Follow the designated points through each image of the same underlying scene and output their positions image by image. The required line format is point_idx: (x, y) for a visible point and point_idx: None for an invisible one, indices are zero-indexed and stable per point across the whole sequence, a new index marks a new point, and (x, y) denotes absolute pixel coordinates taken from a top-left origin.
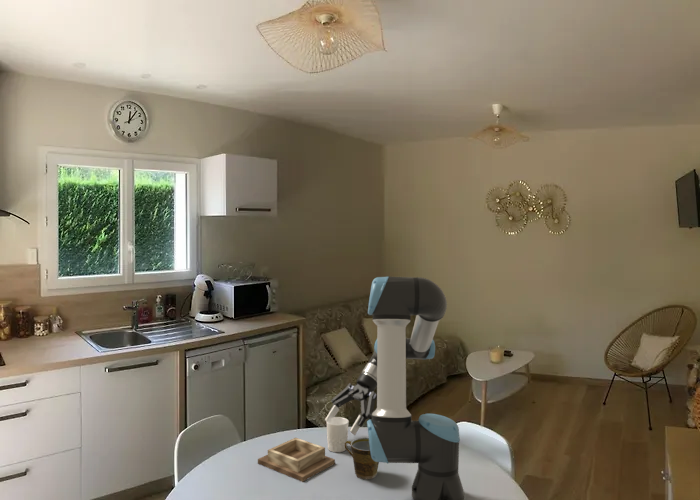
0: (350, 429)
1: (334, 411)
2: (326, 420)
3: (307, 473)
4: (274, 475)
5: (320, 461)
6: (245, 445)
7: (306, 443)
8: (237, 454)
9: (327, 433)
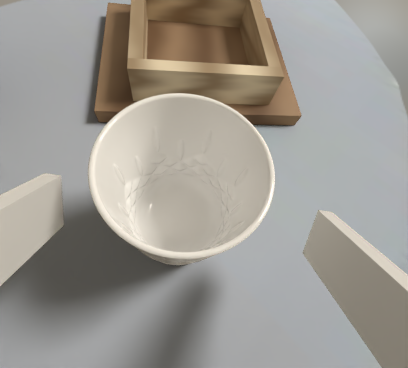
0: (53, 178)
1: (372, 300)
2: (318, 215)
3: (109, 17)
4: None
5: (128, 77)
6: (375, 74)
7: (214, 64)
8: (335, 38)
9: (208, 148)
